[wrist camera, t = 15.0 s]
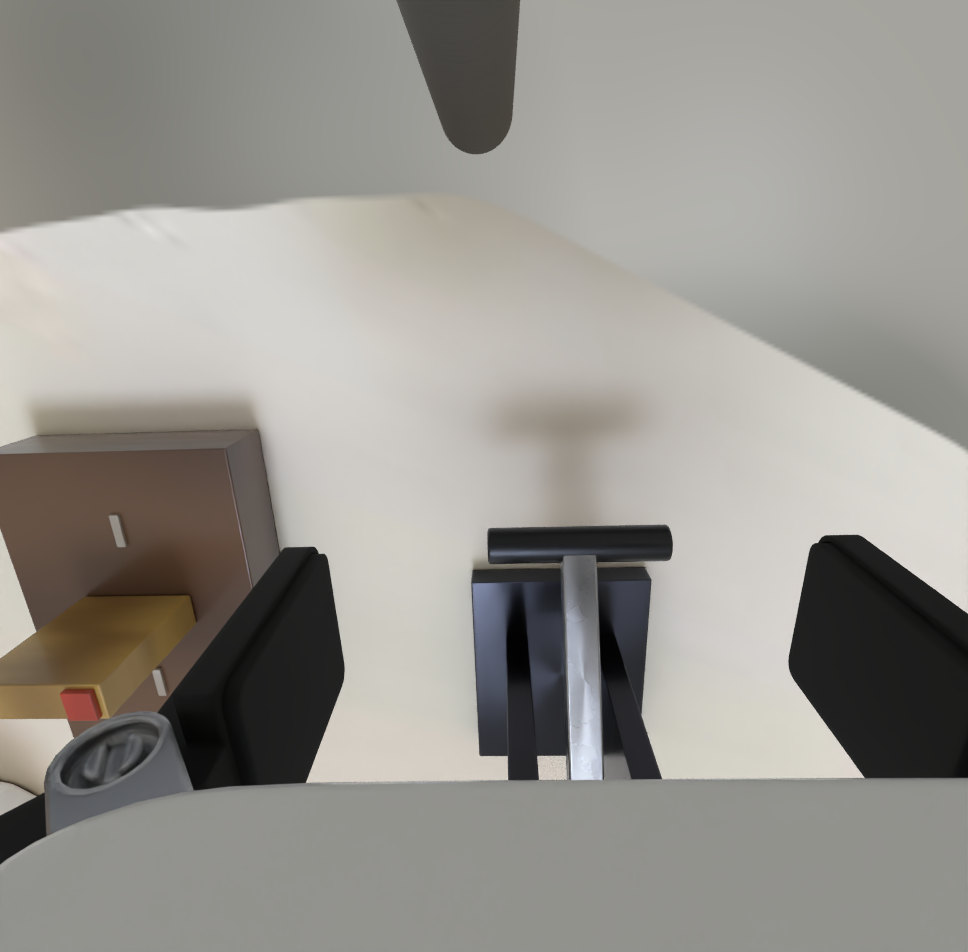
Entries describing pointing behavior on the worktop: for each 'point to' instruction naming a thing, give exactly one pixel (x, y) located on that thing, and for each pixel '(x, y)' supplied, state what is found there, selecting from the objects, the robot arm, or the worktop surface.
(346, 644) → the worktop surface
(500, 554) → the door lever
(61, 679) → the tall mustard panel
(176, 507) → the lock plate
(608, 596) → the handle bracket
